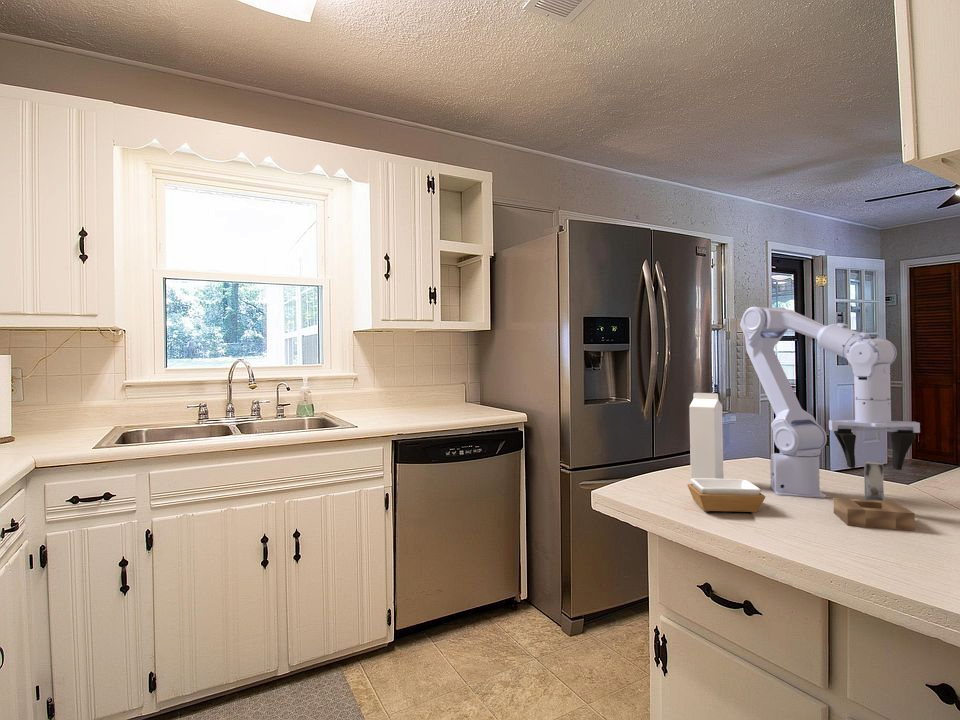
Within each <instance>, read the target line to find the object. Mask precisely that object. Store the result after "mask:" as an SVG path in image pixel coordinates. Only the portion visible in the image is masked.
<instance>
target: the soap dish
mask: <svg viewBox="0 0 960 720" xmlns="http://www.w3.org/2000/svg"><path fill="white" fill-rule="evenodd" d="M690 482H691V483H687V484H686V485H687V488H688V490H689V492H690V495H691V497H692V500H693V501H694V502H695V503H696V504H697V505H698V506H699V507H700V508H701V509H702V510H703V511H704V512H707V513H708V512H741V513H742V512H744V513H745V512H748V513H749V512H750V513H758V512H759V510H760V508H761V507H762V505H763V503H764V500H765V499H766V495H765V494H762V493H761V491H762V489H761V488H760V487H758V486H757V485H755V484H754V483H752V482H751V481H748V480H746V479H738V478H736V479H735V478H723V479H716V478H692V479H691V478H690Z"/></svg>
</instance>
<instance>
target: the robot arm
mask: <svg viewBox="0 0 960 720" xmlns="http://www.w3.org/2000/svg"><path fill="white" fill-rule="evenodd" d="M742 315H743V316H742V317H741V320H740V323H739V326H740V329H741V330H742V333H743V334H744V339H745V349H746V353H747V354H748V357H749V359H750V361H751V364H752V367H753V368H754V370H755V373H756V375H757V377H758V379H759V381H760V384H761V386H762V388H763V390H764V392H765V395H766V397H767V399H768V401H769V404H770V406H771V407H772V408H771V409H772V411H773V413H774V414H775V418H774V419H773V420H772V422H771V424H770V427H771V429H772V433H773V442H774V445H775V446H776V448H777V449H778V450H779V453H777V452H774V453H771V455H770V468H769V469H770V486H769V488H770V489H771V490H772V491H773V492H774V494H776V495H778V496H789V497H802V498H803V497H804V498H805V497H806V498H817V499H818V498H822V499H823V498H824V499H826V498H827V495H826V494H825V493H823V492H822V491H821V490H820V489H821V488H820V486H821V485H820V484H821V483H820V454H821V453H822V452H821V451H822V450H823V448H824V447H825V446H826V444H827V441H828V440H827V439H828V437H827V433H826V431H825V429H824V428H823V426H821V425H820V424H819V423H818V422H817V420H816V419H815V416H814V415H812V414H811V413H809V412H807V411H806V410H804V409H803V408H802V406H801V404H800V402H799V400H798V397H797V395H796V393H795V392H794V389H793V388H792V386H791V383H790V381H789V379H788V377H787V375H786V373H785V370H784V368H783V367H782V365H781V362H780V360H779V359H778V356H777V354H776V352H775V350H774V349H775V348H776V347H775V346H776V345H777V344H779V342H780V340H781V339H782V337H784V335H785V334H786V332H787V331H788V330H790V331H794V332H796V333H799V334H801V335H804V336H806V337H809V338H812V339H815V340H817V343H818V345H819V347H820V348H821V349H823V350H825V351H828V352H830V353H832V354H834V355H837V356H839V357H842V358H844V359H846V360H847V362H848V363H849V364H850V366H851V367H852V374H853V377H854V378H853V382H854V386H853V387H854V388H853V390H854V419H845V420H844V419H841V420H840V419H839V420H835V419H833V420H831V419H829V420H828V430H829V431H832V432H833V433H834V436H835V437H836V439H837V441H838V442H839V445H840V447H841V449H842V451H843V454H844V457H845V461H846V465H847V467H848V468H850V469H855V467H856V456H855V449H856V448H855V446H856V440H857V439H856V437H857V435H856V434H854V432H889V435H890V443H891V447H892V448H891V449H892V452H891V453H892V456H891V457H892V458H891V460H892V462H891V463H892V468H893V469H894V470H898V471H902V469H903V465H904V461H905V458H906V457H907V453H908V451H909V449H911V448H910V447H911V446H912V445H913V443H914V442H915V440H916V438H917V437H916V436H917V435H916V434H920V433H921V427H920V426H921V423H920V422H917V421H904V420H902V421H900V420H899V421H898V420H892V400H891V395H892V393H891V365H892V364H893V363H894V362H895V360H896V358H897V354H898V352H897V348H896V346H895V344H893V342H891V341H890V340H887V338H885V337H877V338H872V337H870V333H868V332H865V331H864V332H859V331H856V330H853V329H851V328H849V327H848V326H849V325H848V324H846V323H844V322H838V323H831V324H828V325H824V324H822V323H821V322H818V321H816V320H814V319H811V318H809V317H807V316H805V315H804V314H801V313H798V312H796V311H794V309H793V310H792V309H787V308H785V307H782V306H781V307H759V306H751V307H749V308H747V309H746V310H744V313H743V314H742Z"/></svg>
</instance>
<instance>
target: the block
mask: <svg viewBox="0 0 960 720" xmlns="http://www.w3.org/2000/svg"><path fill="white" fill-rule="evenodd" d="M833 514H834V515H836V517H838V518H839V519H840V521H842V522H843V523H844V524H845V525H847V526H849V527H861V528H862V527H863V528H878V529H879V528H880V529H888V530H889V529H891V530H905V531H916V519H915V516H916V515H915V512H913V511H911V510H910V509H908V508H907V507H905V506H903V505H902V504H900V503H899V502H897V501H893V500H884V501H881V500H865V498H864V499H861V498H859V499H858V498H844V497H843V498H842V497H833Z"/></svg>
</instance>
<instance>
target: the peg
mask: <svg viewBox="0 0 960 720" xmlns="http://www.w3.org/2000/svg"><path fill="white" fill-rule="evenodd" d="M863 468H864V469H863V471H864V473H863V474H864V477H863V478H864V479H863V481H864V484H863V485H864V500H881V501H885V499H884V497H885V496H884V464H883V463H881V462H876V461H875V462H874V461H866V462H864V463H863Z"/></svg>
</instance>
